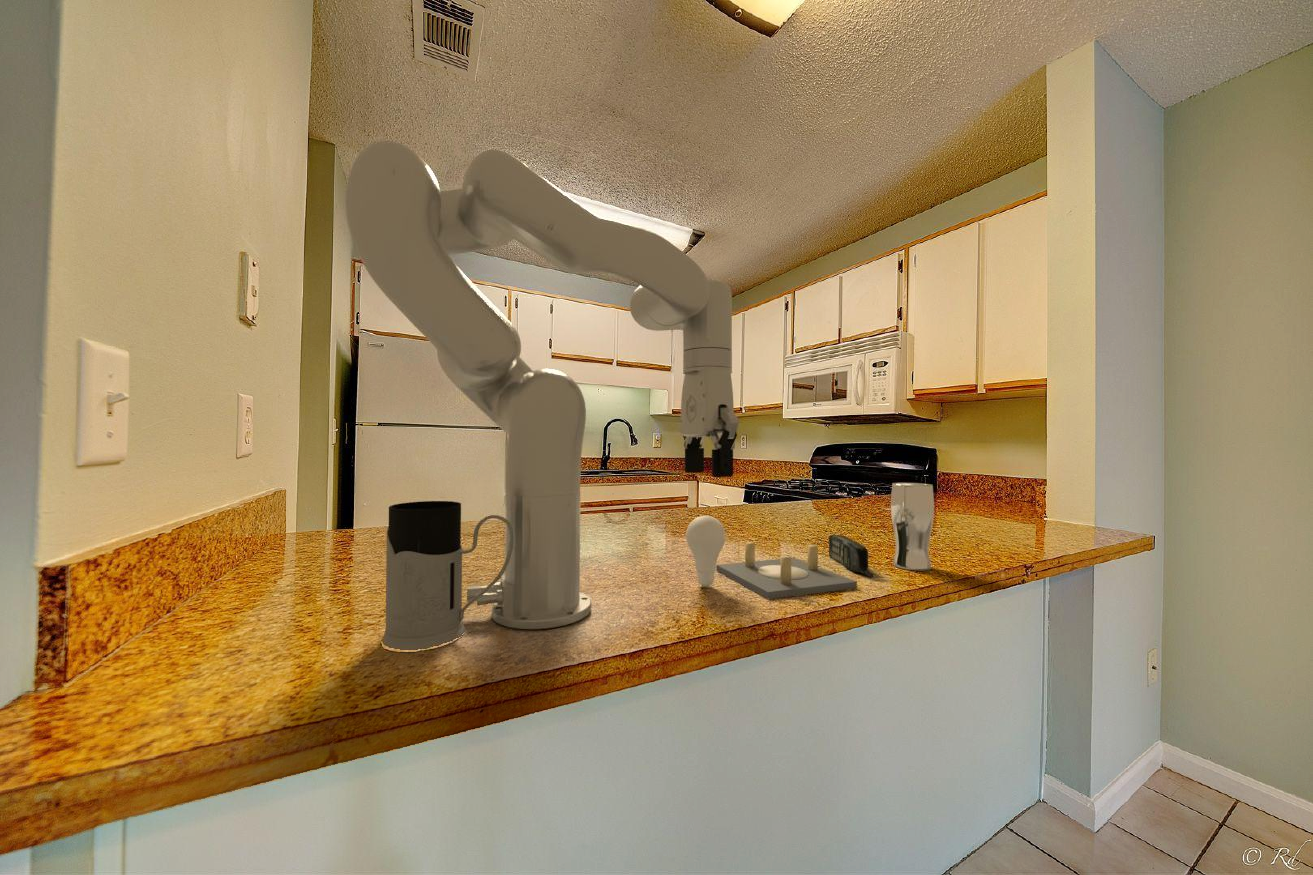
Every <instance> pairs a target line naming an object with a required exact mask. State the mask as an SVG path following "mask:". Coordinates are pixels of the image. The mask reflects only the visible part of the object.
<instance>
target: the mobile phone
mask: <svg viewBox="0 0 1313 875" xmlns="http://www.w3.org/2000/svg"><path fill="white" fill-rule="evenodd" d="M828 557H830V559H832V560H834V561H835V562H837V563H838V564H840V565H842V567H844V568H845V569H847V571H851V572H856V573H861V574H864V575H866V576H868V577H870V578H873V577H874V576H875V575H874V573H872V572H871V571H869V553H868V549H867V547H866V546H864V545H863V544H862V543H859V542H858V541H856V540H853V539H852V538H849V537H847V536H844V535H839V534H831V535H829V536H828Z"/></svg>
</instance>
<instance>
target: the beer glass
mask: <svg viewBox="0 0 1313 875" xmlns="http://www.w3.org/2000/svg"><path fill="white" fill-rule="evenodd" d="M891 484H892V485H891V494H890V495H891V496H890V514H891V515H890V516H891V522H892V529H893V533H894V540H895V551H894V556H893V563H892V564H893V566H894V567H896V568H898V569H902V570H907V571H913V572H915V571H916V572H928V571H931V569H932V564H931V559H930V553H929V552H930V551H929V550H930V549H929V547H930V539H931V533H932V529H933V526H934V525H933V524H934V518H935V500H934V486H933V485H934V484H930V483H921V482H920V483H919V482H893V483H891Z"/></svg>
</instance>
